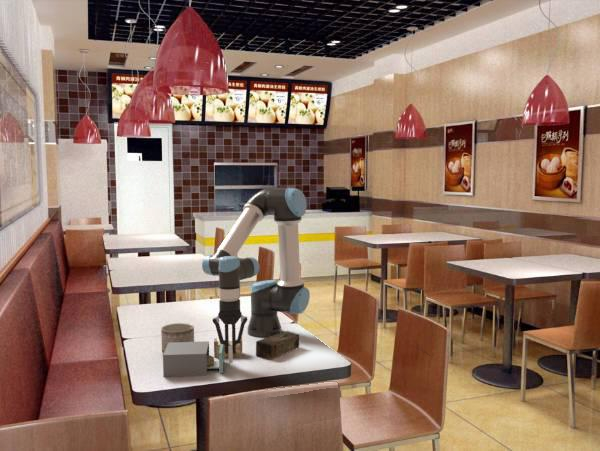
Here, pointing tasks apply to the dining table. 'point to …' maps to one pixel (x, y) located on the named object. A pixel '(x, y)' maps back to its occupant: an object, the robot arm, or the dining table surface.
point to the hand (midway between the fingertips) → (230, 362)
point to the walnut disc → (209, 360)
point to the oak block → (217, 348)
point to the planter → (176, 334)
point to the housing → (185, 359)
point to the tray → (221, 360)
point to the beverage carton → (277, 345)
